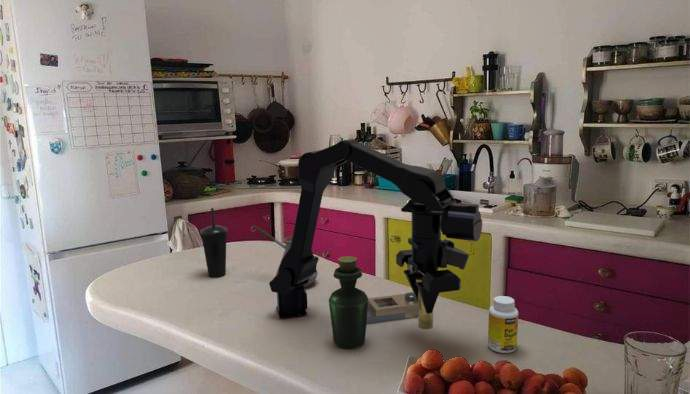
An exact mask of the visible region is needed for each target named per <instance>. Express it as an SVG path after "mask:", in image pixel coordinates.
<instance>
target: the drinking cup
mask: <svg viewBox="0 0 690 394" xmlns="http://www.w3.org/2000/svg"><path fill="white" fill-rule="evenodd" d="M210 213H211V225H208V226H207V227H204V228H202V229H200V231H199V232H200V234H201V240H202V245H203V251H204V256H205V263H206V268H207V275H208V278H212V279H216V278H217V279H218V278H223V277H224V276H225V275H226V270H227V269H226V267H227V262H226V261H227V232H228V228H227V227H226V226H222V225H218V224H217V225H216V224H215V211H214V208H213V207H211V208H210Z"/></svg>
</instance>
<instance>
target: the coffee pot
mask: <svg viewBox="0 0 690 394" xmlns="http://www.w3.org/2000/svg"><path fill="white" fill-rule="evenodd" d="M249 229H250V232H251V233H253V232H255V231H257V232H258V233H260V234H261V235H262V236H264V237H265V238H266V239H269V240H271V241H272V242H274V243H276V244H277V245H278V246H280V247H281V248H283V249H284V252H283V255H282V257H281V260H280V263H279V265H278V268H277V271H276V274H275V276H276V275H277V274H278V270H279V267H280V264H281V261H282V259H283V257H284V256H285V254H286V253H287V251H288V250H289V248H290V246H291V242H292V236H293V235H291V236H287V237H284V238H283V243H282V242H281V241H279V240H278V239H276V238H275V237H274V236H273V235H271V234H270V233H268V231H266V230H263V229H262V228H261V227H258V226H256V224H255V225H254V224H253V225H252V226H251V228H249ZM252 229H254V230H252ZM284 243H285V244H284ZM318 274H319V272H318V271H317V272H315V273H314V274H313V275H312V277H310V279H309V282H308V283H307V284H305V285H303V286H304V289H305V288H308V287H310V286H311V285H312V283H313V282H315V280H316V279H317V277H318V276H319V275H318Z"/></svg>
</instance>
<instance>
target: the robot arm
mask: <svg viewBox="0 0 690 394" xmlns="http://www.w3.org/2000/svg"><path fill="white" fill-rule="evenodd" d="M346 162H349V163H352V164H354V165H356V166H357V167H359V168H362V169H363V170H366V171H367V172H370V173H371V174H374V175H376V176H378V177H381V178H382V179H384V180H387V181H388V182H390V183H391V184H394V185H395V186H396V187H397V188H398V190H399V191H400V192H401V193H402V194H403V195H404V196H406V197H408V198H409V200H408V202H407V203H406V204H405V205H404V206H402V207H401V208H400V211H401V212H403V213H411V237H408V239H407V244H409V245H410V246H411V249H405V250H404V249H403V250H399V251H398V253H396V254H395V258H396V259H395V263H396V265H397V266H398V267H400V268H402V267H404V266H405V265H406V269H405V270H403V274H404V275H405V277H406V280H407V281H408V284H409V286H410V289H411V290H412V292H414V295H415V297H416V299H417V301H418V290H419V293H420V296H421V299H422V302H423V305H424V308H425V311H426V313H432V311H433V312H434V308H435V306H436V303H437V300H438V297H439V294H440V293H441V294H442V293H446V292H448V293H449V292H456V291H460V290H461V289H462V288H461V287H462V285H461V284H462V281H461V280H462V279H461V278H460V277H459V276H458V275H457V274H456V273H454V272H453V271H451V270H450V269H446V268H448V265H449V266H452V267H456V268H458V269H459V270H463V271H464V270H465V268H466V265H467V262H468V260H469V257H470V254H469V253H467V252H465V251H464V250H462V249H459V248H458V247H455V242H453V241H452V240H449V239H453V240H459V241H461V240H462V241H469V242H478V241H479V240H480V237H481V234H482V229H483V219H482V215H481V212H480V211H479V209H480V205H479V204H477V203H471V204H466V203H465V204H462V203H457V200H456V199H455V198H454V196H453V195H452V193H451V192H450V191H449V189H448V187H446V182H445V179H444V176H443V175H442V173H440V172H439V171H438V170H436V169H431V168H427V167H423V166H419V165H418V166H417V165H410V164H408V163H404V162H402V161H400V160H398V159H395V158H393V157H391V156H388V155H386V154H385V153H382V152H380V151H378V150H376V149H374V148H371V147H369V146H367V145H365V144H363V143H360V142H359V141H358V140H357V139H355V138H351V139H350V138H349V139H344V140H343V139H342V140H340V141H338V142H337V143H335V144H333V145H331V146H328V147H326V148H323V149H320V150H319V149H318V150H314V151H313V150H312V151H308V152H305V153H303V154H302V155H300V157H299V158H298V164H297V178H298V181H299V185H300V187H301V188H300V189H301V190H300V195H299V200H298V206H297V211H296V216H295V221H294V228H293V232H292V235H291V236H292V242H291V246H290V248H289V250H288V251H287V253H286V254H285V256H284V257H283V256H282V257H283V259H282V258H281V259H282V261H281V260H280V262H281V264H280V263H279V265H280V267H279V266H278V267H279V270H278V269H277V270H278V274H277V275H276V274H275V276H274V277H273V278H272V280H270V282H269V283H268V284H269V287H270V290H271V292H273V293H276V299H277V300H276V302H277V303H276V307H275V308H276V311H277V315H278V318H279V319H287V318H293V317H294V318H295V317H303V316H307V315H308V312H307V311H308V309H309V308H308V293H307V291H306V289H305V288H304V286H303V285H305V284H307V283H308V282H309V279H310V277H312V275H313V274H314V273H315V272H318V270H317V265H318V262H319V260H320V259H319V256H316V255H314V253H313V250H312V249H313V243H314V238H315V233H316V229H317V223H318V219H319V213H320V209H321V204H322V198H323V195H324V191H325V190H326V188H327V187H328V185H329V184H330V182H331V181H332V180H333V176H334V175H335V174H334V173H335V172H336V168H337V167H338V166H340V165H342V164H345V163H346ZM442 236H445V237H446V238H444V239H442ZM439 268H440V269H442V270H439ZM420 276H423V277H422V282H416V278H417V277H420ZM416 284H417V285H416Z"/></svg>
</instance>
